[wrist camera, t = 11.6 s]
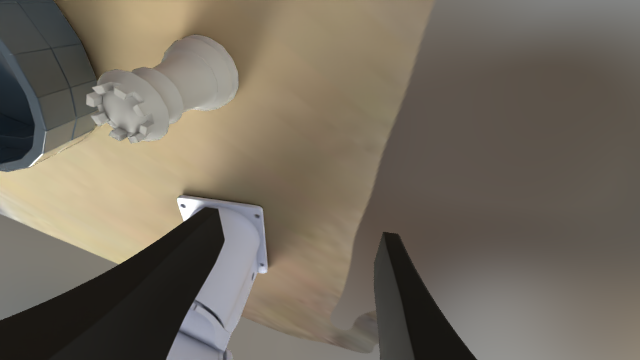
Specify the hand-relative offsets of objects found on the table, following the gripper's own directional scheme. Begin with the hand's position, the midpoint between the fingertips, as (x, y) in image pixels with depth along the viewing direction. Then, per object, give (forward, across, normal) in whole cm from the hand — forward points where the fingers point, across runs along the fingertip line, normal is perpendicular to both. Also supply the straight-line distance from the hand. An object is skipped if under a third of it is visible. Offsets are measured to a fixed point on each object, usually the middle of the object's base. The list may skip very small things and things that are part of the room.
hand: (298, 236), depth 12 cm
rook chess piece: (+10, +8, -4) cm, 13 cm away
